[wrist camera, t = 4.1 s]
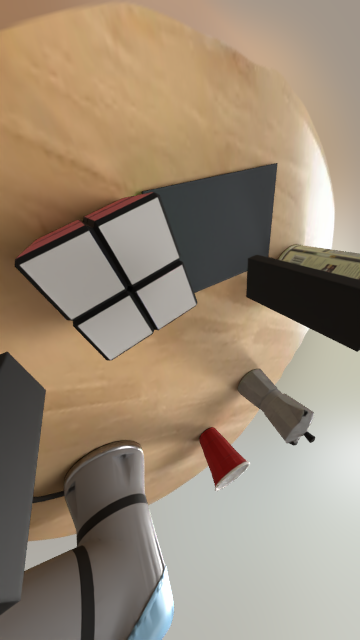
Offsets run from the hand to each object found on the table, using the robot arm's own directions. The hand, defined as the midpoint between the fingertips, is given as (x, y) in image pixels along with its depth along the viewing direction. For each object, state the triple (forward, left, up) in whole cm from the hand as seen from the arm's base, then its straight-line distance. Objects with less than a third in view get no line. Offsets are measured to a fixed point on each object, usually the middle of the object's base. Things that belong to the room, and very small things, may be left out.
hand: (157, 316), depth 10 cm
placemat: (+16, -1, -15) cm, 22 cm away
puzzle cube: (0, 0, -15) cm, 15 cm away
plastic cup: (+8, -55, -15) cm, 58 cm away
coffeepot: (+24, -43, -15) cm, 52 cm away
